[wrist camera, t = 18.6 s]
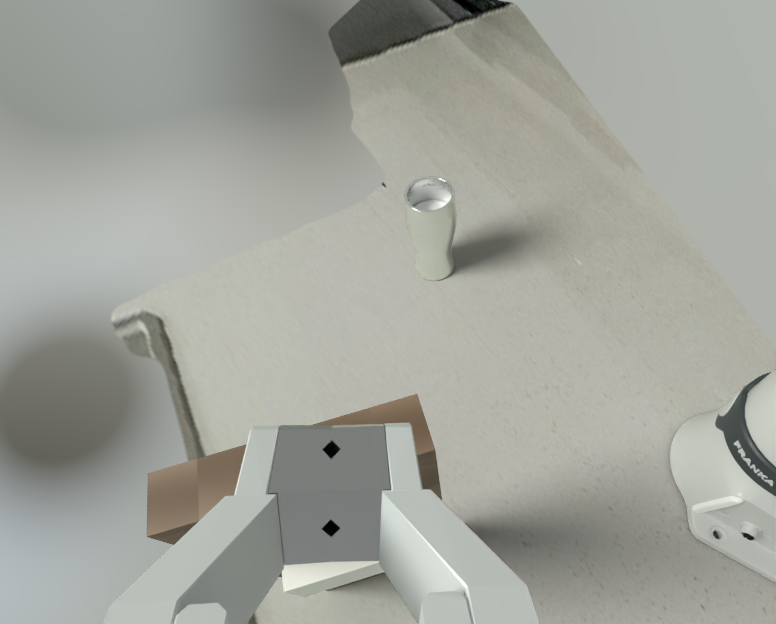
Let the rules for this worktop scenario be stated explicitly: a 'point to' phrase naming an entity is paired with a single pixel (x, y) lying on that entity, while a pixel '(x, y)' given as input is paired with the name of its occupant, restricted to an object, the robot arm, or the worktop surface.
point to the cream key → (325, 575)
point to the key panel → (221, 470)
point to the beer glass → (431, 225)
